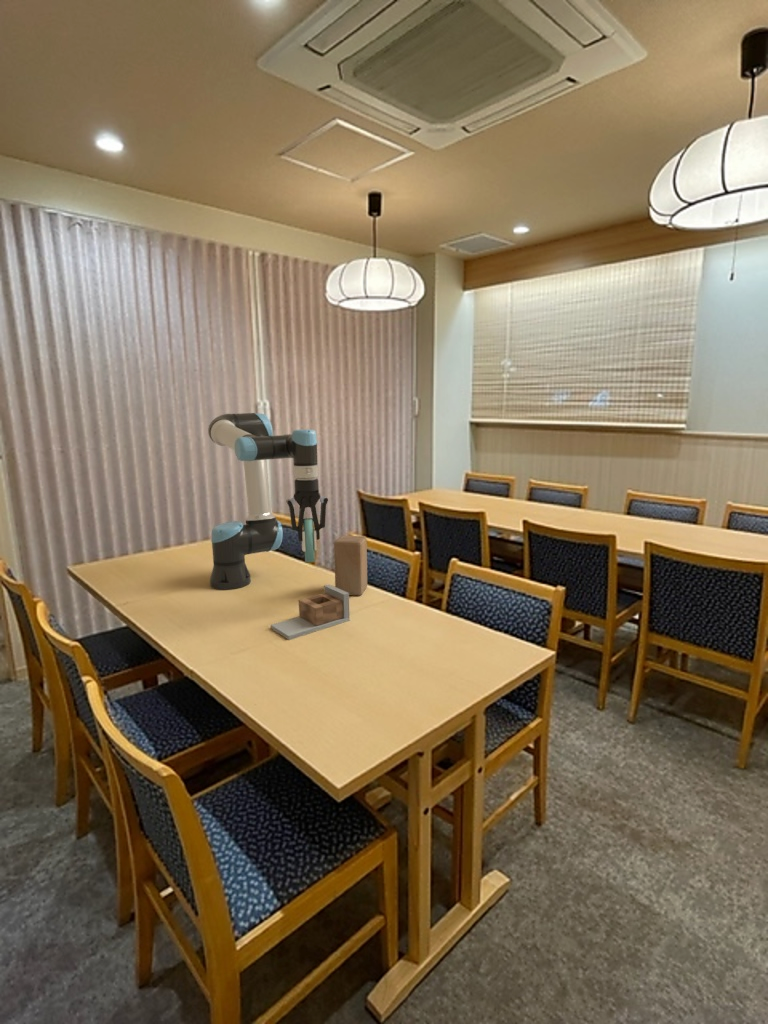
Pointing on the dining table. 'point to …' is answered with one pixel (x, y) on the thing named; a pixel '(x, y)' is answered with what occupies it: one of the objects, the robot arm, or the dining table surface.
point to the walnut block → (320, 608)
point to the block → (351, 564)
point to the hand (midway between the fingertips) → (309, 549)
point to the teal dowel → (309, 540)
